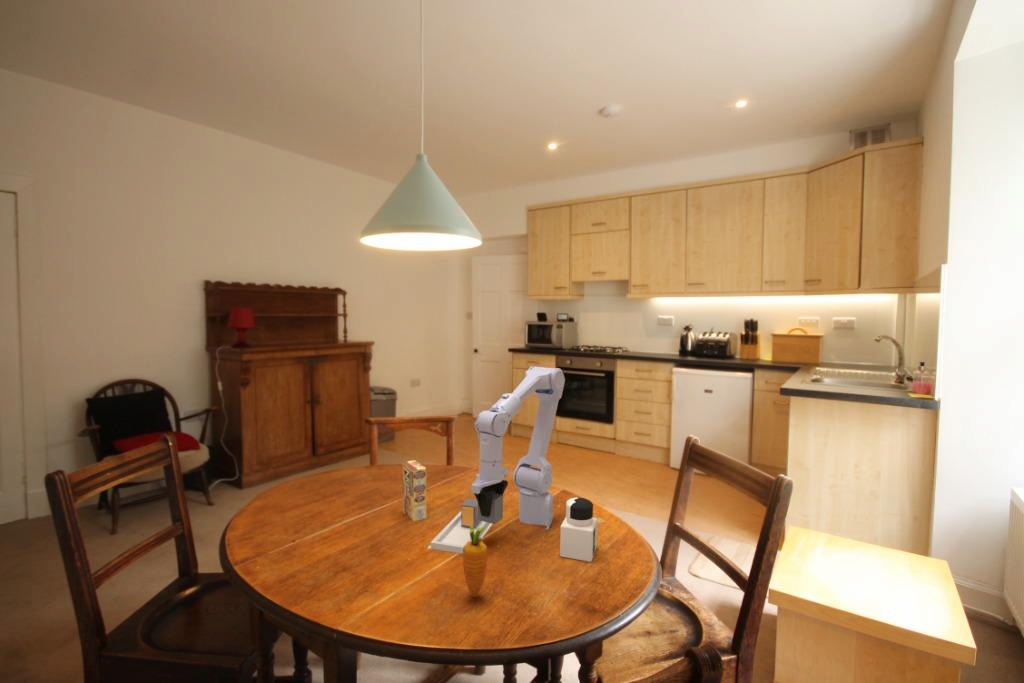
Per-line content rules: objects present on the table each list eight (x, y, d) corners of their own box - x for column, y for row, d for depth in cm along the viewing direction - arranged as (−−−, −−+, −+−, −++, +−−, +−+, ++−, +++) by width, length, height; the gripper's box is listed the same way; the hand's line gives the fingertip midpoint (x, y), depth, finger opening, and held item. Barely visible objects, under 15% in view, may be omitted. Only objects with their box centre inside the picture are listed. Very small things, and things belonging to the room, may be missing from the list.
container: (596, 547, 117) (597, 497, 117) (591, 562, 110) (592, 508, 109) (566, 542, 120) (567, 493, 119) (559, 557, 113) (560, 504, 112)
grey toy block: (481, 521, 130) (481, 499, 129) (474, 529, 124) (474, 507, 124) (468, 519, 131) (468, 498, 130) (460, 527, 125) (460, 505, 125)
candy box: (427, 521, 131) (427, 467, 130) (413, 524, 129) (413, 470, 128) (415, 510, 139) (415, 459, 138) (401, 513, 136) (401, 461, 136)
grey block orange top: (494, 524, 114) (494, 500, 114) (476, 519, 117) (476, 495, 116) (502, 518, 118) (503, 495, 117) (484, 513, 120) (484, 490, 120)
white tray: (495, 523, 130) (495, 514, 130) (469, 558, 111) (469, 548, 111) (458, 518, 133) (458, 510, 133) (427, 552, 114) (427, 542, 114)
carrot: (462, 590, 98) (463, 520, 97) (486, 589, 99) (487, 520, 98) (462, 605, 93) (462, 531, 92) (487, 604, 94) (487, 531, 93)
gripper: (492, 449, 125) (491, 499, 125) (460, 464, 112) (460, 519, 113) (515, 453, 121) (514, 505, 122) (485, 469, 108) (485, 526, 109)
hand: (490, 512), depth 117 cm, fingers closed on grey block orange top, 4 cm apart
